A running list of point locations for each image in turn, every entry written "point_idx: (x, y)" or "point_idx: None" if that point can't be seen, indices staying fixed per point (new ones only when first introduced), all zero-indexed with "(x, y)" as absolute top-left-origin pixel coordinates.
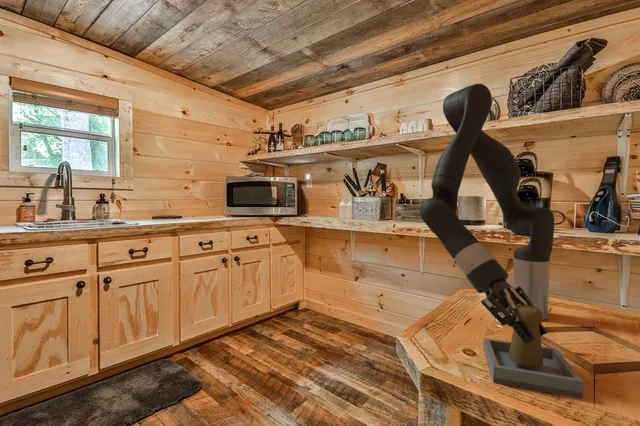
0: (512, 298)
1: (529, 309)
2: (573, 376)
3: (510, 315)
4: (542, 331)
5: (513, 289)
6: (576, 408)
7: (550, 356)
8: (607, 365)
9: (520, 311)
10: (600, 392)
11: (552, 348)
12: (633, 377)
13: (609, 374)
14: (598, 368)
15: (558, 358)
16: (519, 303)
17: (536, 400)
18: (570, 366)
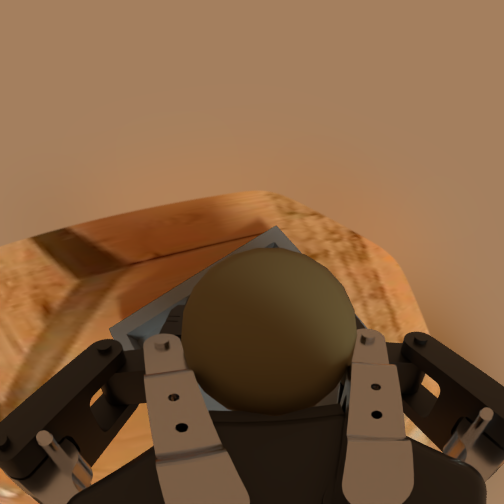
0: (257, 453)
1: (321, 284)
2: (269, 244)
3: (420, 346)
4: None
5: (174, 493)
6: (320, 243)
7: (136, 342)
8: (69, 259)
9: (356, 329)
10: (211, 235)
11: (119, 335)
12: (95, 220)
13: (109, 246)
14: (93, 266)
15: (175, 305)
16: (100, 437)
17: (364, 292)
18: (212, 266)
